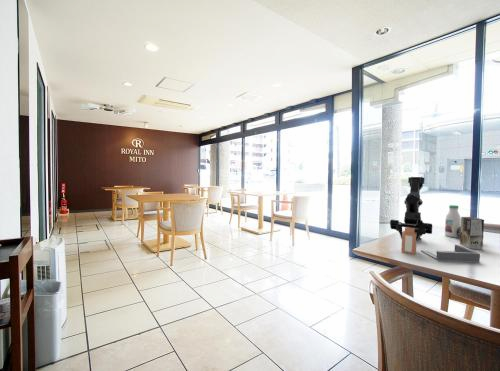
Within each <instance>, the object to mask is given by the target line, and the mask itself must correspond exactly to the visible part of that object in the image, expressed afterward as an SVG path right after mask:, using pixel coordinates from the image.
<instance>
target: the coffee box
mask: <svg viewBox="0 0 500 371" xmlns="http://www.w3.org/2000/svg"><path fill="white" fill-rule="evenodd" d="M460 218H461V233H460V239H459V245H460V246H462V247H464V248H467V249H469V250H473V249H474V250H475V249H476V250H483V245H484V244H483V243H484V231H485V230H484V228H485V227H484V226H485V219H483V218H478V217H475V216H460Z"/></svg>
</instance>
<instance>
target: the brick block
mask: <svg viewBox="0 0 500 371" xmlns="http://www.w3.org/2000/svg"><path fill="white" fill-rule="evenodd" d="M416 236H417V233H416V232H415V228H411V227H404V230H402V239H401V250H400V251H401V253H403V254H409V255H416V253H417V243H418V241H416Z"/></svg>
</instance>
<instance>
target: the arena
mask: <svg viewBox="0 0 500 371" xmlns="http://www.w3.org/2000/svg"><path fill="white" fill-rule="evenodd" d="M421 252H422V253H423V254H425V255H427V256H429V257H430V258H432V259H434V260H436V261H438V262H458V263H477V264H478V263H480V262H481V260H480V259H481V253H480V252H477V251H474V250H473V249H470V248H468V247H465V246H463V245H461V244H454V251H453V250H431V249H430V250H429V249H428V250H425V249H421Z"/></svg>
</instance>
